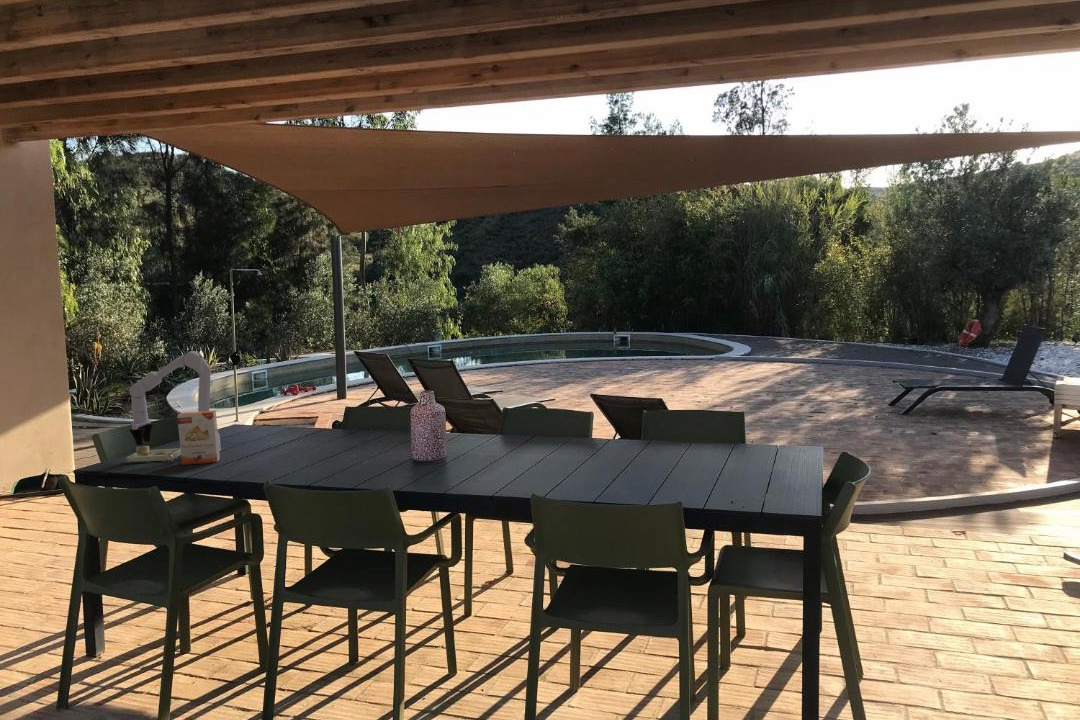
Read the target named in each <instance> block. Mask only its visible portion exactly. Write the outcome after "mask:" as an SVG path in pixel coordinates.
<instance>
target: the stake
mask: <svg viewBox="0 0 1080 720" xmlns="http://www.w3.org/2000/svg"><path fill="white" fill-rule="evenodd" d="M172 454H173V451H171V452H168V453H166V456H167V460H168V461H167V464H168V463H173V464H174V460H173V457H172Z"/></svg>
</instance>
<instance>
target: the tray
mask: <svg viewBox="0 0 1080 720" xmlns="http://www.w3.org/2000/svg"><path fill="white" fill-rule="evenodd" d="M149 450H150V449H149ZM165 451H169V452H170V451H174V453H173V454H172V457H173V459H175V458H176V459H178V458H179V457H178V456H180V455H181V449H180V447H179V448H168V449H167V448H164V449H151V450H150V454H151V453H153V452H165ZM177 457H178V458H177ZM180 457H181V456H180ZM124 459H125V463H126V462H129V461H162V462H168V461H167V456H166V455H156V456H140V457H137V452H134V453H131V455H128V456H126V457H125V458H124ZM176 459H175V460H176Z"/></svg>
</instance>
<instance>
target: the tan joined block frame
mask: <svg viewBox="0 0 1080 720" xmlns="http://www.w3.org/2000/svg"><path fill="white" fill-rule="evenodd" d="M135 451H136V452H137V457H140V456H156V455H166V453H168V452H169V451H165V452H153V453H151V454H150V446H149V445H143V446H142V445H137V446H136V447H135ZM136 452H135V453H136ZM170 452H171V451H170ZM173 453H174V451H173Z"/></svg>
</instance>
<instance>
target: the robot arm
mask: <svg viewBox="0 0 1080 720" xmlns="http://www.w3.org/2000/svg"><path fill="white" fill-rule="evenodd" d="M184 367H188V368H191V369H192V370H194V371H195V372H196V373H197V374H198V377H199V379H198V402H197V403H198V405H197V412H201V411H210V405H211V404H210V401H211V400H210V399H211V398H210V397H211V375H212V374H211V371H212V370H211V367H210V365H209V364H208V363H207V361H206V360H205V358H204V357H203V355H202V354H200V353H199V352H198V351H195V350H191V351H187V353H186V354H185V353H184V354H183V355H180V356H179V357H176V358H174V360H172V361H170V362H169V363H168V364H167V365H166V366H164V367H162V368H161V369H160V370H158V371H151V372H147V373H146V375H145V376H144V377H143V378H141V379H138V380H136V383H133V384H132V385H131V386H130V387H129V391H128V392H129V395H130V398H131V410H132V420H133V421H132V422H130V425H131V428H130V429H129V432H130V434H131V435H132V437H133V438H134V441H135V444H136V446H142V445H143V443H145V442H146V443H147V442H151V436H152V430H153V429H154V423H152V422H151V421H152V420H151V418H149V414H148V406H147V404H148V403H147V399H146V392H149V391H151V390H152V389H154V388H155V387H156V386H158V385H159V384H161V383H162V380H163V378H164V377H166V376H167V375H169V374H170V373H172V372H173V371H175V370H176V369H178V368H184ZM218 441H219V452H221V451H222V446H221V445H222V444H221V435H220V432H219V431H218ZM143 446H144V445H143Z"/></svg>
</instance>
